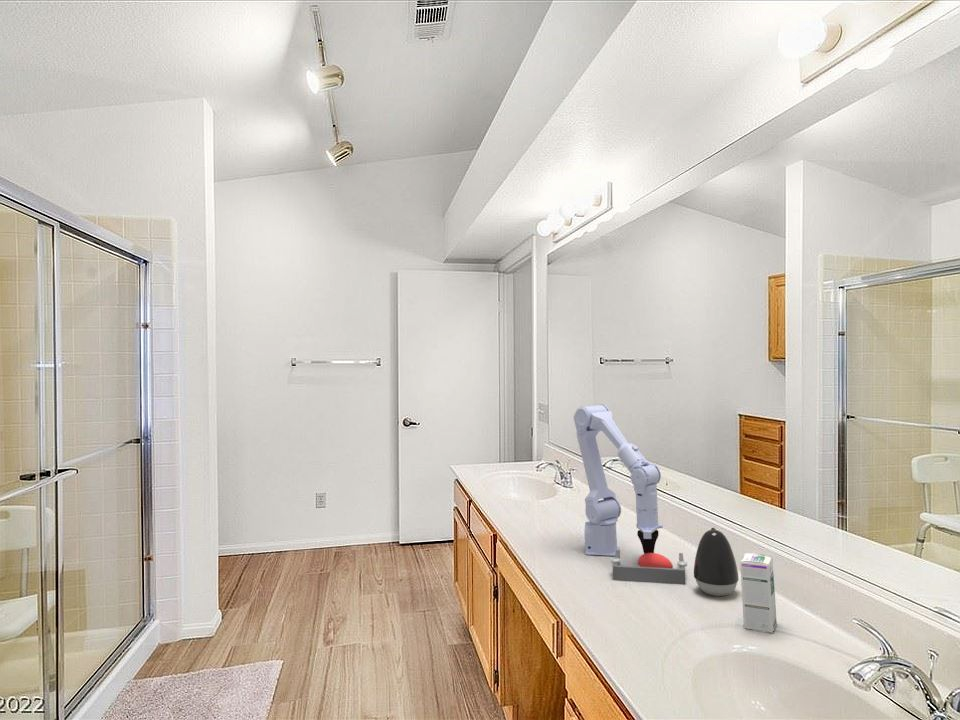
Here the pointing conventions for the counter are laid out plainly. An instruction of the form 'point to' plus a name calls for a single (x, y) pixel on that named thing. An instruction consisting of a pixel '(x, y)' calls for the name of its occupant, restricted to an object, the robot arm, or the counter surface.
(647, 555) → the red kidney bean shape
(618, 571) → the gray u-shaped bracket
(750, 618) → the syrup box
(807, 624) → the counter surface
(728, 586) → the black egg-shaped device
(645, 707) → the counter surface
